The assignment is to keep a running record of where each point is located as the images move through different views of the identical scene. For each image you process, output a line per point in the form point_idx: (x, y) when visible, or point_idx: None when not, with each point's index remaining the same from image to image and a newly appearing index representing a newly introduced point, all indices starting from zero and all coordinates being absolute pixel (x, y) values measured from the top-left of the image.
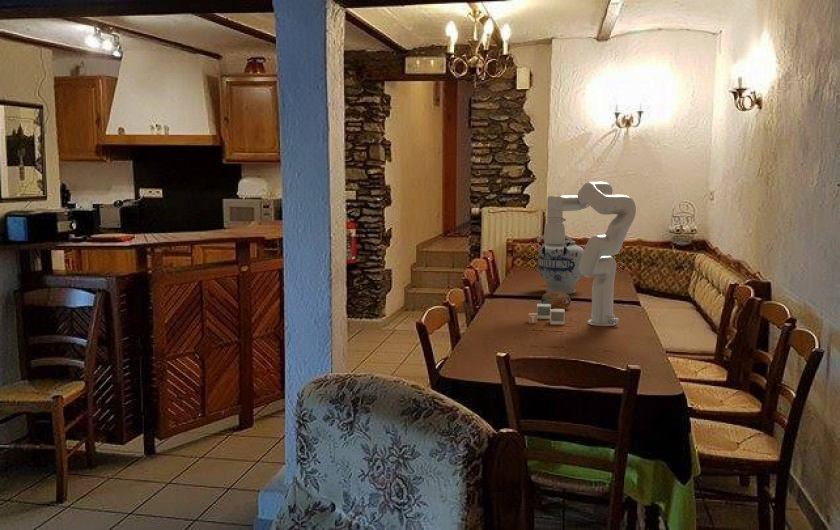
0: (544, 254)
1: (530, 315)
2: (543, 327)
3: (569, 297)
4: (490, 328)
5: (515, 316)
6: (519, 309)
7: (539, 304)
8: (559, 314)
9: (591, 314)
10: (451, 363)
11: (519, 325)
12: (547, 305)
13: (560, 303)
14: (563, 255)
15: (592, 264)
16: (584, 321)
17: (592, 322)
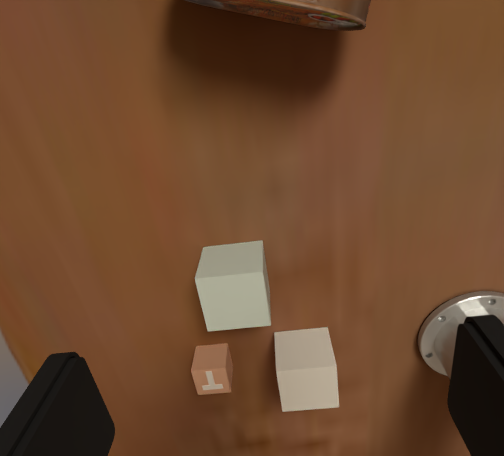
0: (100, 452)
1: (205, 391)
2: (264, 412)
3: (366, 5)
4: (114, 448)
5: (118, 276)
6: (68, 97)
7: (210, 294)
8: (312, 352)
9: (445, 362)
10: None
11: (183, 403)
12: (252, 309)
13: (295, 14)
14: (450, 385)
15: None
16: (407, 304)
17: (434, 363)
